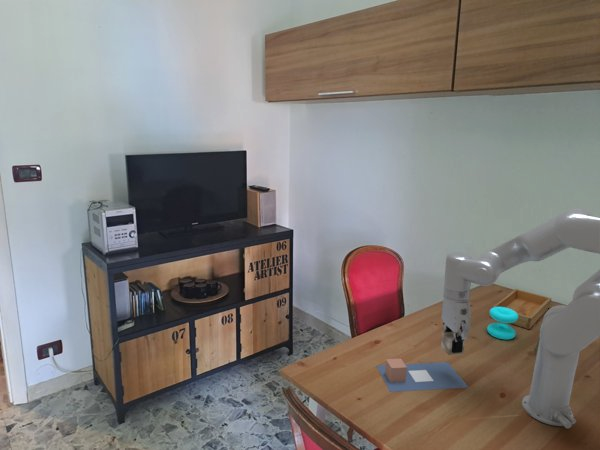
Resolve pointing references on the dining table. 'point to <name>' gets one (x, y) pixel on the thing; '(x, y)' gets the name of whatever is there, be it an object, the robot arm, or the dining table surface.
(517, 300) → the tray
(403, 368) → the terracotta block
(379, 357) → the dining table surface
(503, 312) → the donuts
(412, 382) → the board
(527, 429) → the dining table surface
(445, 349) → the cream block
